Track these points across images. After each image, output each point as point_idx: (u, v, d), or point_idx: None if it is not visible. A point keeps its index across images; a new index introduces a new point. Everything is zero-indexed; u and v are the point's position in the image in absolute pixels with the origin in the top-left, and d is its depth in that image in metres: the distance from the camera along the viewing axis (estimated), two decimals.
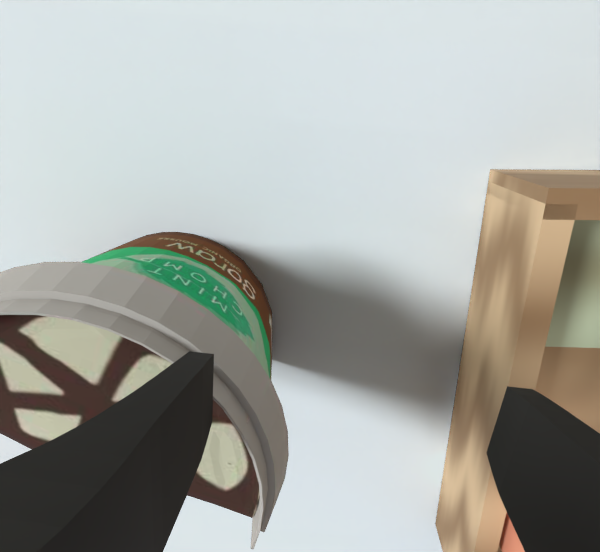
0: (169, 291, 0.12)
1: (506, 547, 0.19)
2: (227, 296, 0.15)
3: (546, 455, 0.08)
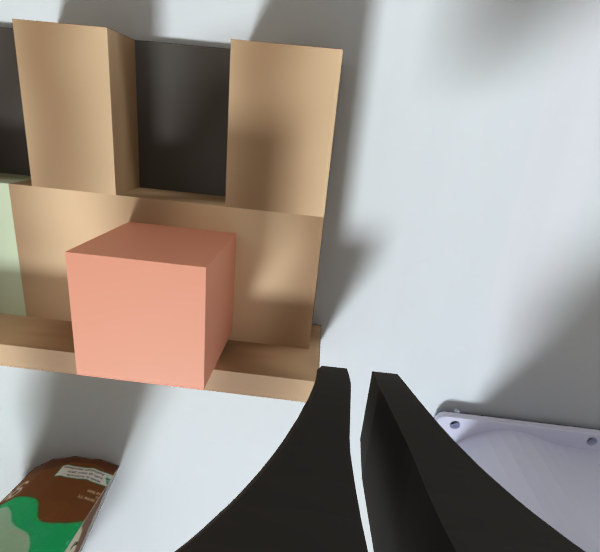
0: None
1: None
2: None
3: (383, 436, 0.08)
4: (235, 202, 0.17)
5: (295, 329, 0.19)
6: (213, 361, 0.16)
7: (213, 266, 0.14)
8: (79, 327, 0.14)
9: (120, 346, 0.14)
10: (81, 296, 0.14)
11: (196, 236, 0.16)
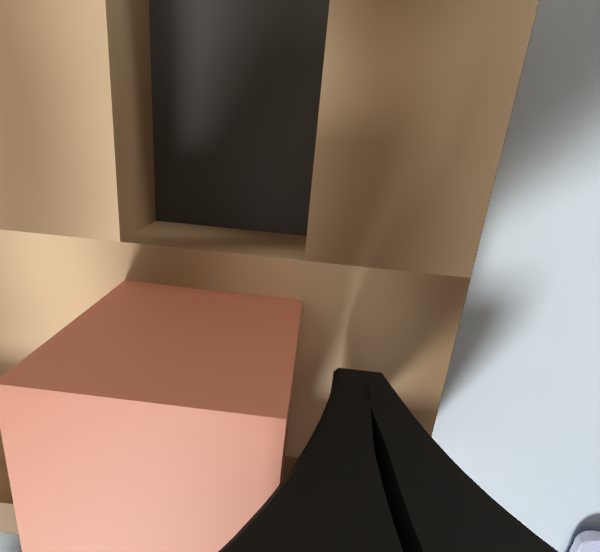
0: None
1: None
2: None
3: None
4: (322, 254, 0.10)
5: None
6: None
7: None
8: (28, 513, 0.07)
9: (108, 545, 0.07)
10: (30, 462, 0.07)
11: (241, 313, 0.10)
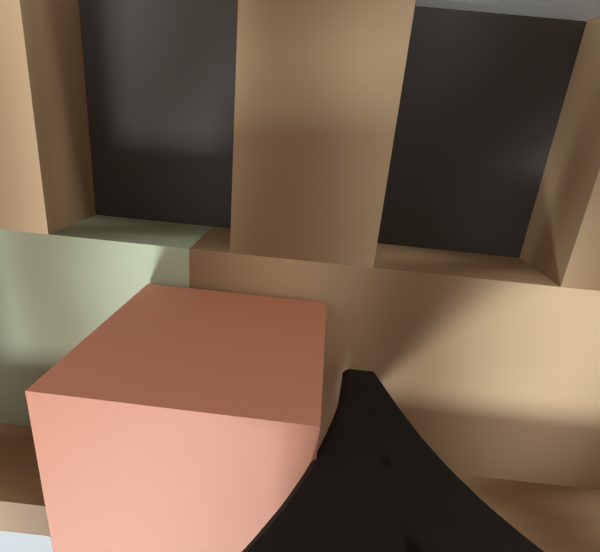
0: None
1: None
2: None
3: None
4: (580, 280, 0.10)
5: None
6: None
7: None
8: (61, 519, 0.07)
9: (140, 551, 0.07)
10: (62, 468, 0.07)
11: (266, 316, 0.09)
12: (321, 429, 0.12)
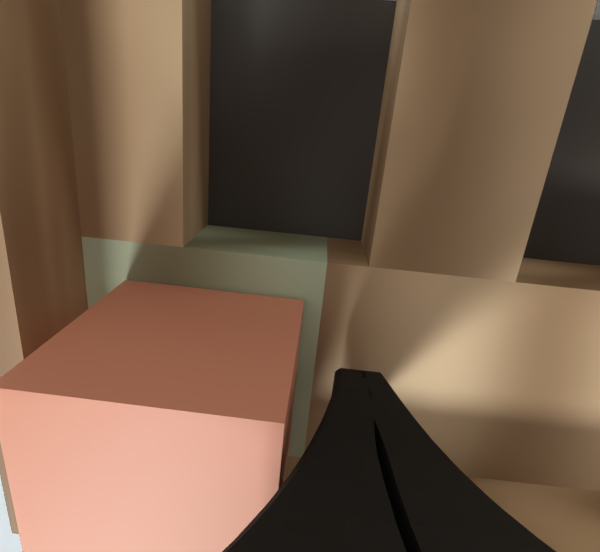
0: None
1: None
2: None
3: None
4: None
5: None
6: None
7: (289, 399, 0.07)
8: (28, 515, 0.07)
9: (108, 547, 0.07)
10: (28, 465, 0.07)
11: (242, 313, 0.09)
12: (441, 443, 0.12)
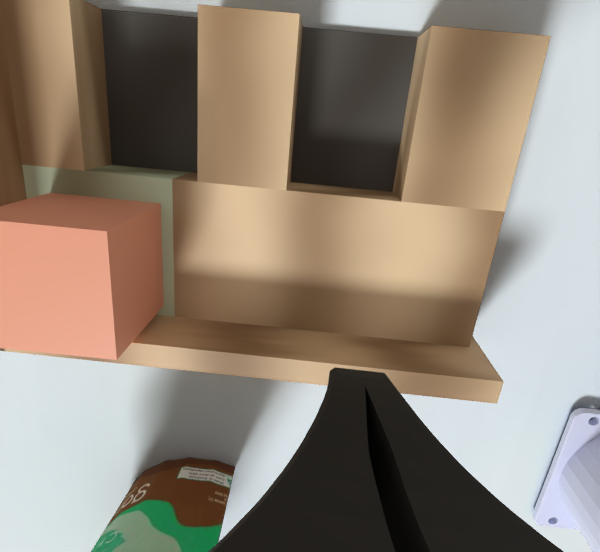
0: None
1: None
2: (105, 539, 0.21)
3: (369, 435, 0.08)
4: (412, 197, 0.16)
5: (458, 327, 0.18)
6: (131, 332, 0.15)
7: (121, 232, 0.14)
8: None
9: (27, 315, 0.14)
10: None
11: (115, 205, 0.16)
12: (260, 303, 0.18)
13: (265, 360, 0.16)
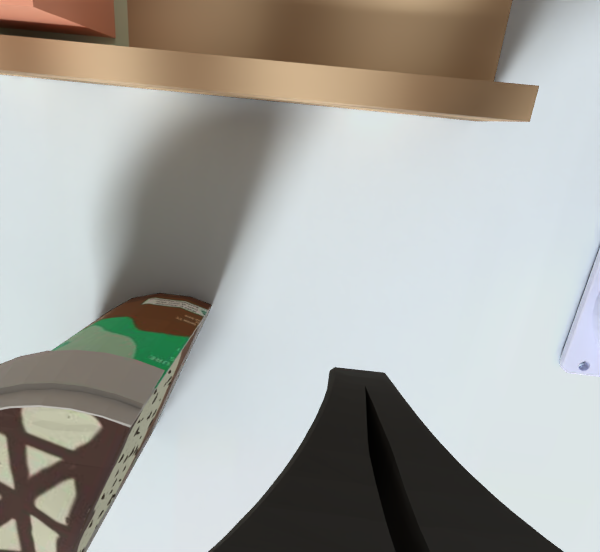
0: None
1: (61, 22, 0.13)
2: None
3: (368, 435, 0.08)
4: None
5: (478, 59, 0.15)
6: (60, 1, 0.12)
7: None
8: None
9: None
10: None
11: None
12: (234, 32, 0.15)
13: (234, 63, 0.13)
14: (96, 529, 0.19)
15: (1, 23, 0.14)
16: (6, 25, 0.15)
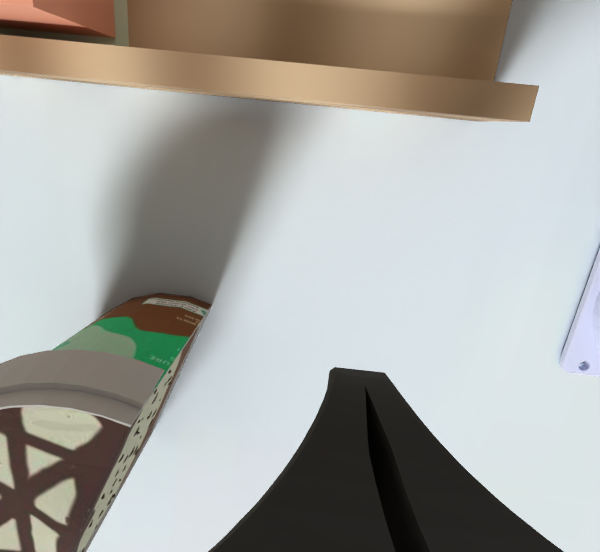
0: None
1: (61, 22, 0.13)
2: None
3: (368, 435, 0.08)
4: None
5: (478, 59, 0.15)
6: (60, 1, 0.12)
7: None
8: None
9: None
10: None
11: None
12: (234, 32, 0.15)
13: (234, 63, 0.13)
14: (96, 529, 0.19)
15: (1, 23, 0.14)
16: (6, 25, 0.15)
